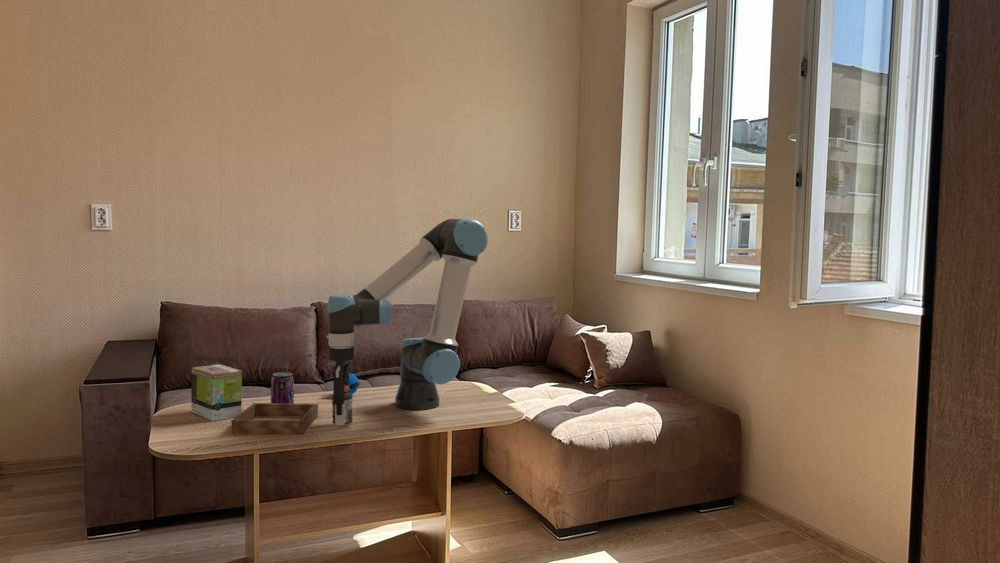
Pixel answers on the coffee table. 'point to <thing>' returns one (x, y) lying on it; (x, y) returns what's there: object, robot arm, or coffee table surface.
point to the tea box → (216, 392)
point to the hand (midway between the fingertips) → (342, 421)
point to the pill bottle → (346, 406)
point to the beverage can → (282, 388)
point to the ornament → (353, 383)
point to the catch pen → (275, 427)
